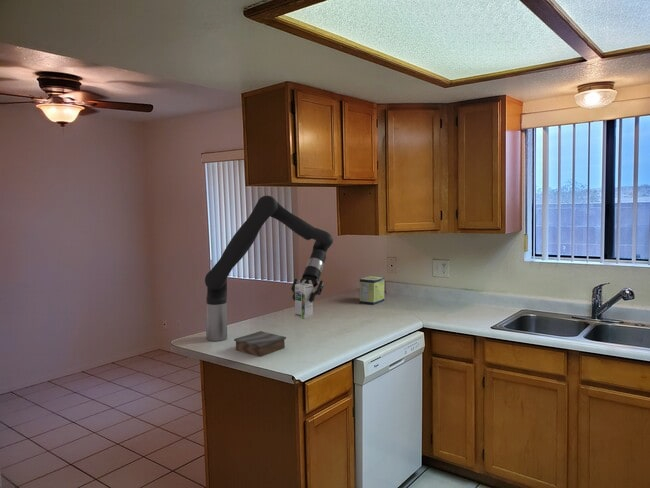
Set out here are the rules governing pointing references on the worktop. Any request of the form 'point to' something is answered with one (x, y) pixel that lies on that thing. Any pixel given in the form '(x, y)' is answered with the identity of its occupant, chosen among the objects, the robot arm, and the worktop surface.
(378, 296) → the protein box
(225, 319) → the robot arm
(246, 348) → the podium
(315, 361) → the worktop surface
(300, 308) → the syrup box
